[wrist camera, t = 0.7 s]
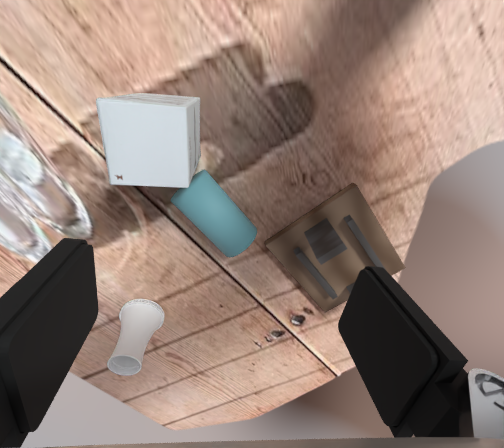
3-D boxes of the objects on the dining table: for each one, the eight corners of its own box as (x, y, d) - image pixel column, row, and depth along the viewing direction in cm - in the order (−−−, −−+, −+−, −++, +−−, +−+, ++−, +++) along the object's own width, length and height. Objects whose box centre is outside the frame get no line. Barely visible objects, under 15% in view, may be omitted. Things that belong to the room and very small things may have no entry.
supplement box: (201, 156, 37) (189, 191, 26) (144, 152, 36) (106, 186, 25) (202, 96, 33) (188, 106, 22) (139, 90, 32) (91, 97, 21)
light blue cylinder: (174, 191, 39) (167, 208, 33) (206, 164, 37) (204, 178, 32) (224, 242, 43) (224, 264, 38) (254, 220, 42) (259, 240, 37)
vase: (157, 332, 52) (143, 385, 43) (116, 322, 50) (92, 375, 41) (170, 305, 49) (157, 355, 40) (127, 293, 47) (103, 343, 38)
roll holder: (353, 182, 40) (380, 205, 33) (401, 263, 48) (432, 296, 41) (264, 241, 44) (271, 274, 37) (323, 307, 52) (338, 345, 44)
